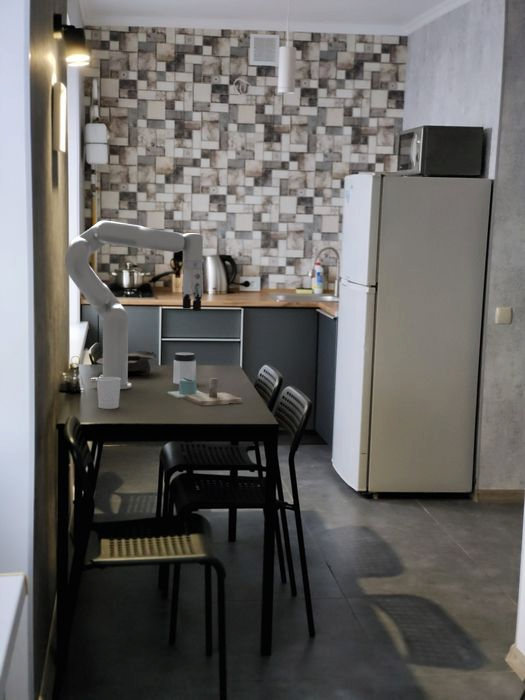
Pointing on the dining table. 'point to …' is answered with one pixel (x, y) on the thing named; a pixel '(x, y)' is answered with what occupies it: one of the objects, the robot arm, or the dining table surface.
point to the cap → (187, 386)
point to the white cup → (108, 392)
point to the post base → (212, 400)
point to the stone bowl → (138, 362)
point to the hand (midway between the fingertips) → (191, 309)
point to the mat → (178, 395)
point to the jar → (184, 366)
